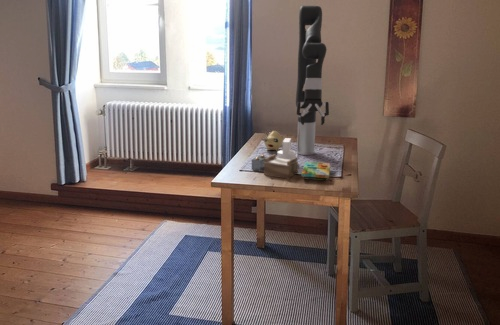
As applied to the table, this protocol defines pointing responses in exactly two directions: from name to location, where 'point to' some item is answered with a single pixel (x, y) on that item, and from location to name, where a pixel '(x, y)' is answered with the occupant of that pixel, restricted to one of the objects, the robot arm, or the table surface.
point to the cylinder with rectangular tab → (286, 150)
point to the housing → (258, 162)
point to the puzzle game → (316, 170)
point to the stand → (280, 166)
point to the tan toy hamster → (273, 141)
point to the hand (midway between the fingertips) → (312, 124)
